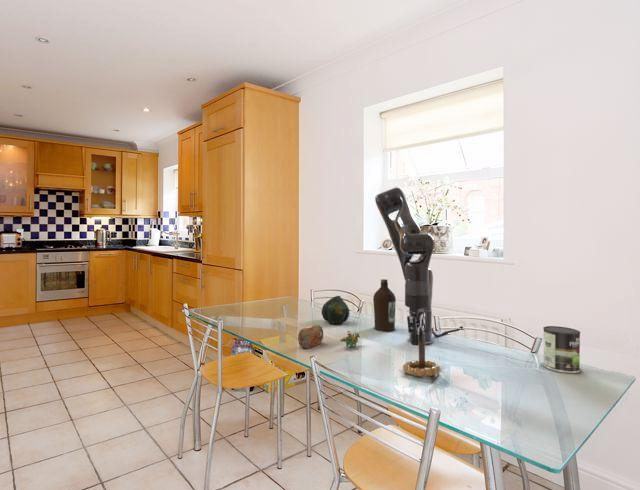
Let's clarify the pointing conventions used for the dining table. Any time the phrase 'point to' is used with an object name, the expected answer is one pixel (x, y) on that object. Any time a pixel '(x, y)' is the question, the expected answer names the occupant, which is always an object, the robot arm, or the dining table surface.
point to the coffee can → (562, 349)
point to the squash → (335, 310)
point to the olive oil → (384, 308)
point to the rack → (423, 359)
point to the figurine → (351, 339)
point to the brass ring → (429, 370)
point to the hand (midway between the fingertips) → (417, 343)
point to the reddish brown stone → (310, 336)
